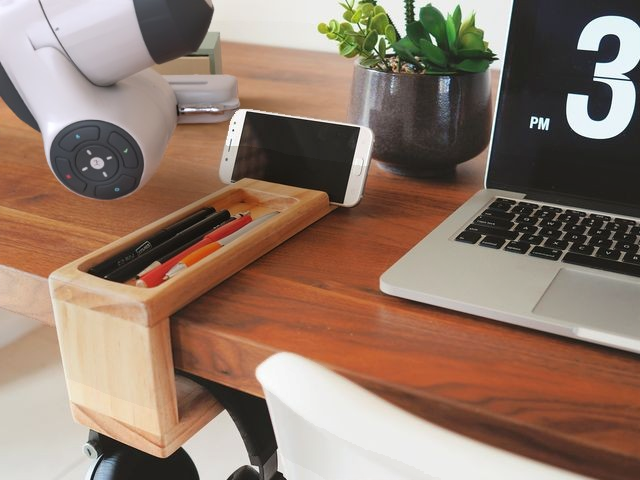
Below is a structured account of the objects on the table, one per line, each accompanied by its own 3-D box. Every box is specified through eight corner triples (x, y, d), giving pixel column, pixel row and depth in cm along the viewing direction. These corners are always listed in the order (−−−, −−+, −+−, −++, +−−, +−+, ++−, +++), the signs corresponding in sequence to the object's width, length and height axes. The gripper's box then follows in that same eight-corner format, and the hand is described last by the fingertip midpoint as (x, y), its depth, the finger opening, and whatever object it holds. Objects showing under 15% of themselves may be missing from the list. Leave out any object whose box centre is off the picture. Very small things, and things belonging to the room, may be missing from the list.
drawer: (211, 129, 96) (206, 65, 92) (122, 130, 94) (114, 65, 90) (218, 97, 112) (214, 41, 108) (142, 97, 110) (136, 41, 106)
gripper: (237, 78, 70) (241, 52, 82) (15, 79, 67) (53, 53, 79) (241, 141, 73) (244, 108, 85) (28, 145, 70) (63, 110, 82)
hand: (150, 81), depth 82 cm, fingers open, 8 cm apart
